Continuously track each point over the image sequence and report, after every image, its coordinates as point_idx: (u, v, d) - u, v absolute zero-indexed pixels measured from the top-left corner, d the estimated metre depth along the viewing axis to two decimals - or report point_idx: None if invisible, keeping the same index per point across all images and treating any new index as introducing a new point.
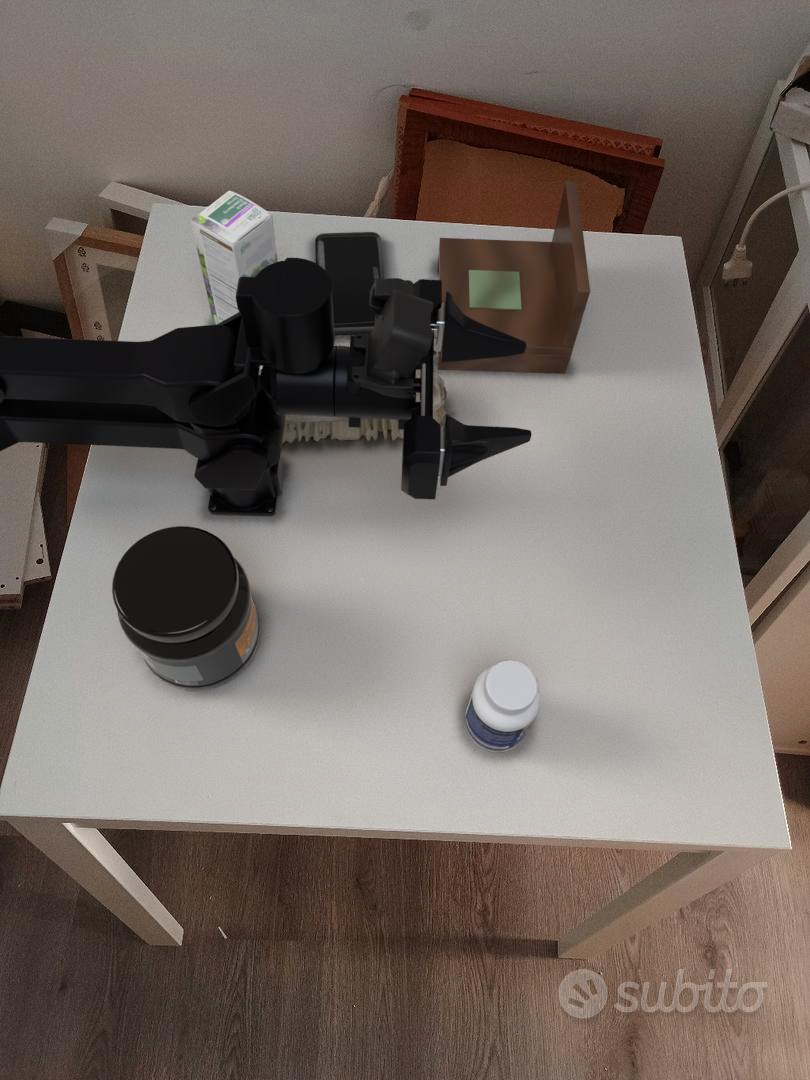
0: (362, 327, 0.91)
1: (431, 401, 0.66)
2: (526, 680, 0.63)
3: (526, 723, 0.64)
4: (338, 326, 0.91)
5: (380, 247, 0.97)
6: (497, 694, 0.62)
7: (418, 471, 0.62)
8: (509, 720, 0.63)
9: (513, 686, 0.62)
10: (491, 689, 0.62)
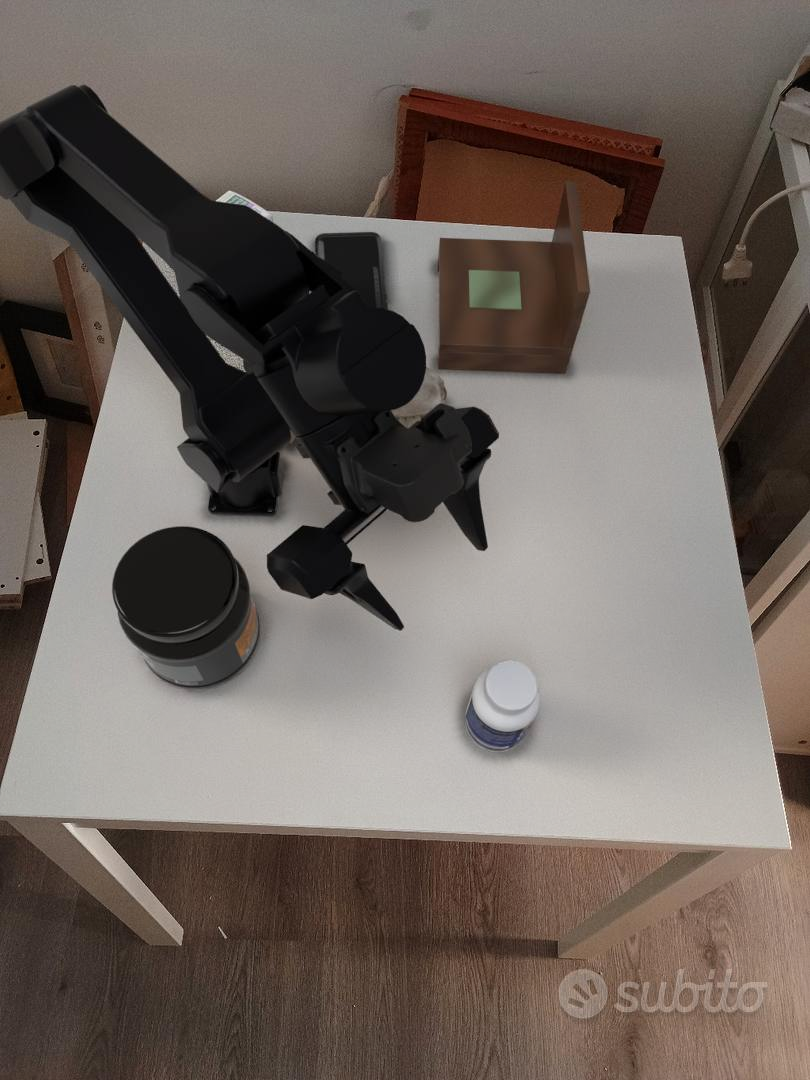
0: None
1: (372, 520, 0.58)
2: (526, 680, 0.63)
3: (526, 723, 0.64)
4: None
5: (380, 247, 0.97)
6: (497, 694, 0.62)
7: (291, 579, 0.54)
8: (509, 720, 0.63)
9: (513, 686, 0.62)
10: (491, 689, 0.62)
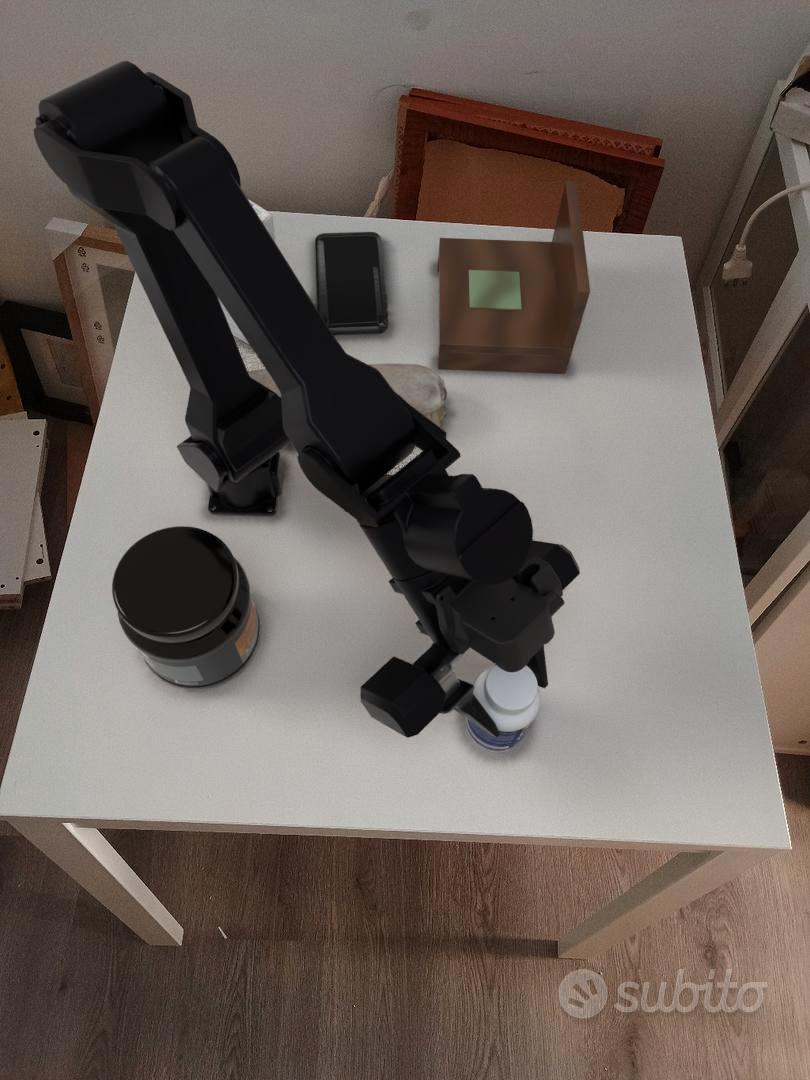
0: (362, 327, 0.91)
1: None
2: (526, 680, 0.63)
3: (526, 723, 0.64)
4: (338, 326, 0.91)
5: (380, 247, 0.97)
6: (497, 694, 0.62)
7: (387, 716, 0.57)
8: (509, 720, 0.63)
9: (513, 686, 0.62)
10: (492, 689, 0.62)
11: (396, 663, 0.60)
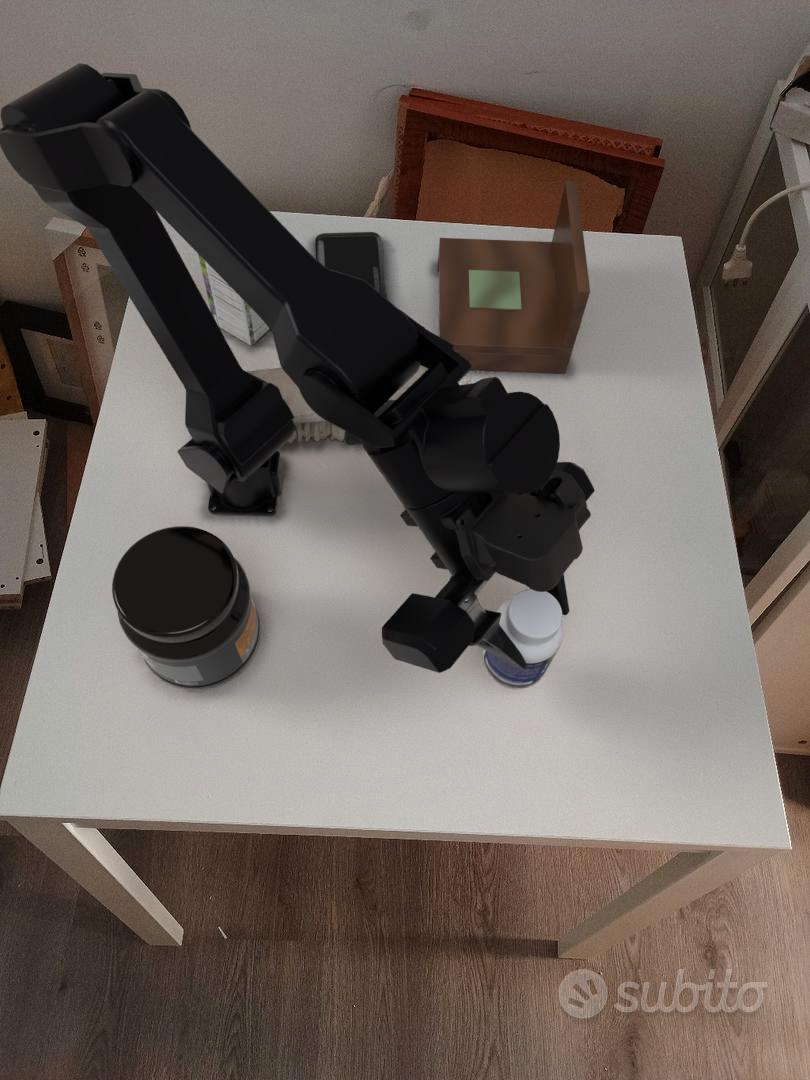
0: None
1: None
2: (550, 607, 0.60)
3: (552, 652, 0.61)
4: None
5: (380, 247, 0.97)
6: (521, 624, 0.59)
7: (415, 653, 0.54)
8: (535, 650, 0.61)
9: (537, 614, 0.60)
10: (515, 619, 0.60)
11: (417, 599, 0.57)
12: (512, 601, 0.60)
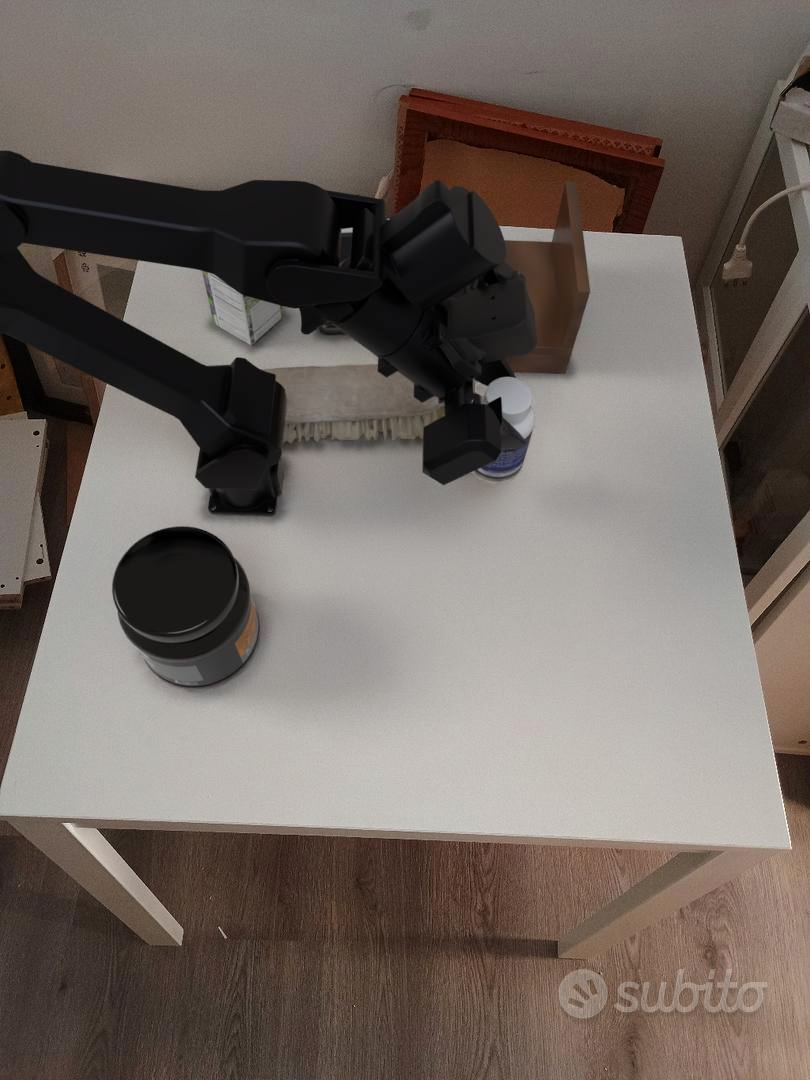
0: None
1: None
2: (515, 385, 0.69)
3: (534, 421, 0.71)
4: None
5: None
6: (507, 407, 0.68)
7: (469, 458, 0.61)
8: (524, 425, 0.70)
9: (511, 395, 0.69)
10: None
11: (433, 426, 0.63)
12: (487, 397, 0.68)
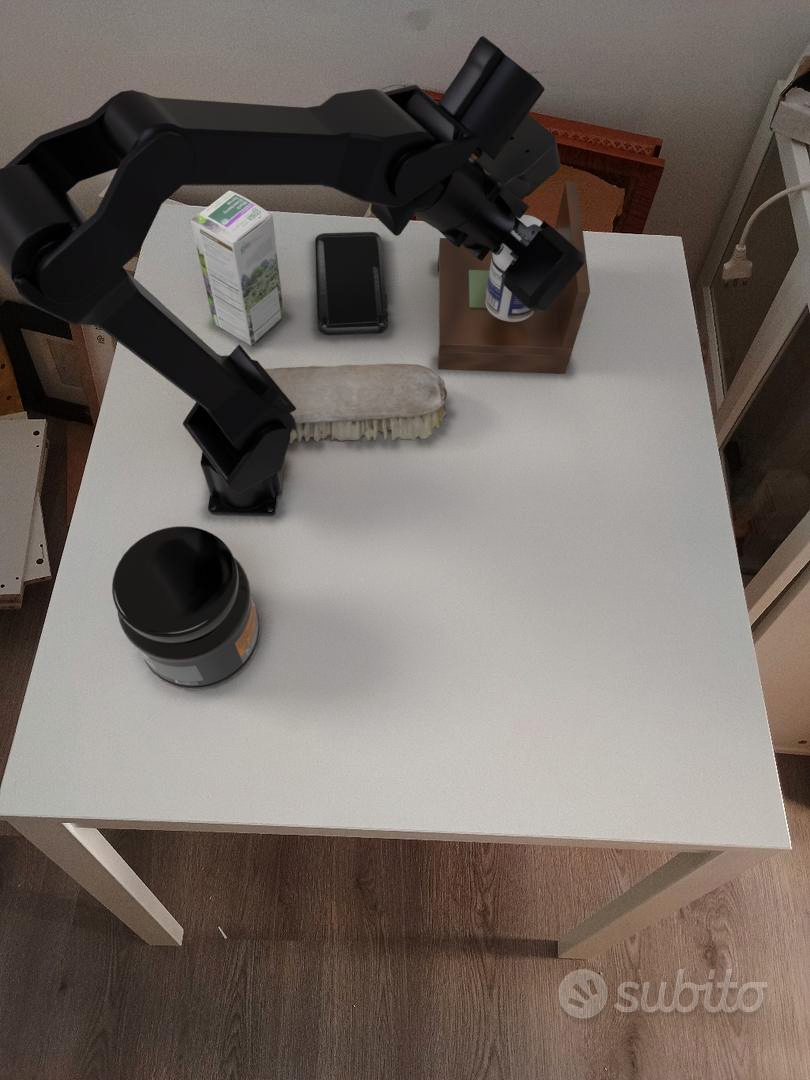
0: (362, 327, 0.91)
1: None
2: (522, 220, 0.79)
3: None
4: (338, 326, 0.91)
5: (380, 247, 0.97)
6: None
7: (567, 270, 0.70)
8: None
9: None
10: None
11: (516, 266, 0.71)
12: None
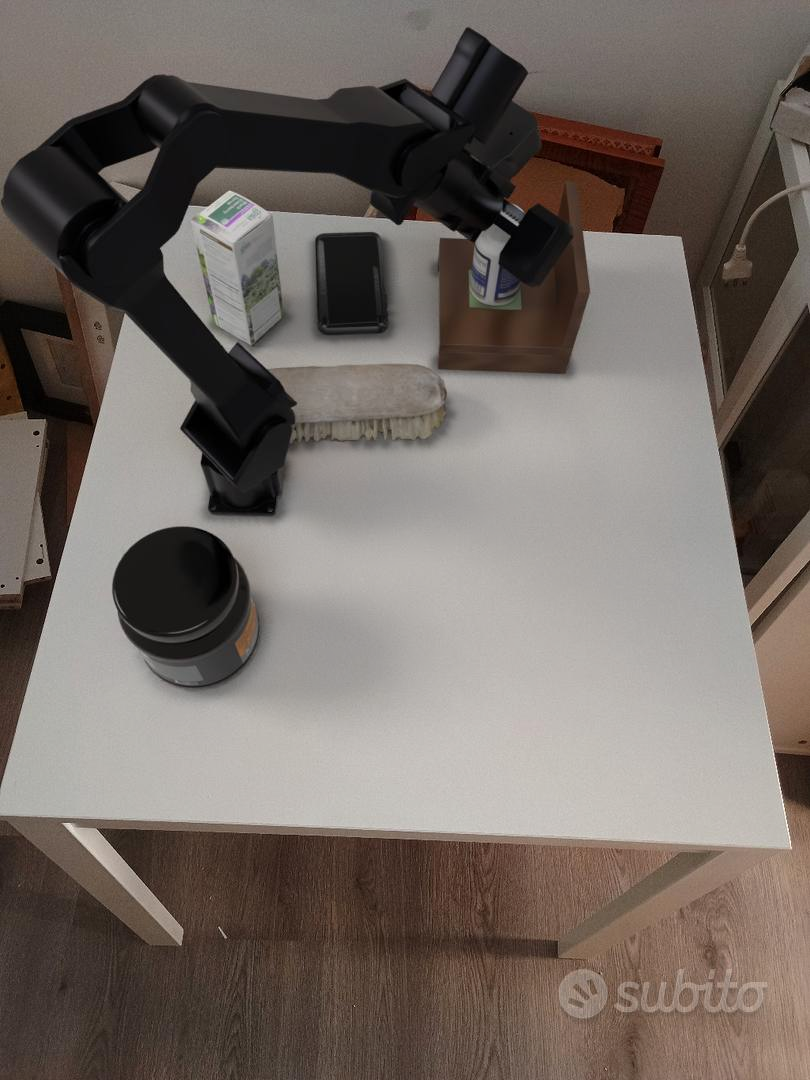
0: (362, 327, 0.91)
1: None
2: None
3: None
4: (338, 326, 0.91)
5: (380, 247, 0.97)
6: (514, 223, 0.81)
7: (559, 244, 0.73)
8: None
9: None
10: None
11: (510, 245, 0.74)
12: (495, 225, 0.81)
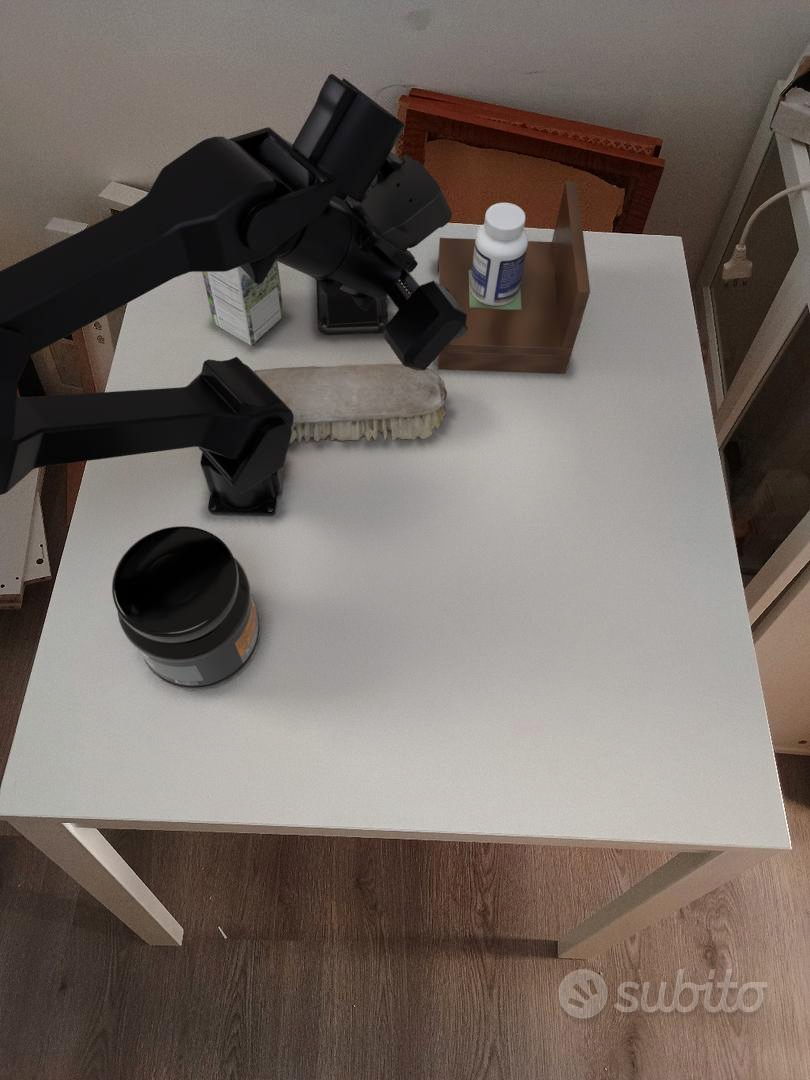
0: (362, 327, 0.91)
1: (399, 282, 0.69)
2: (502, 207, 0.82)
3: None
4: (338, 326, 0.91)
5: None
6: (514, 223, 0.81)
7: (444, 331, 0.65)
8: (523, 234, 0.83)
9: (507, 214, 0.82)
10: (510, 226, 0.81)
11: (395, 321, 0.66)
12: (495, 225, 0.81)
